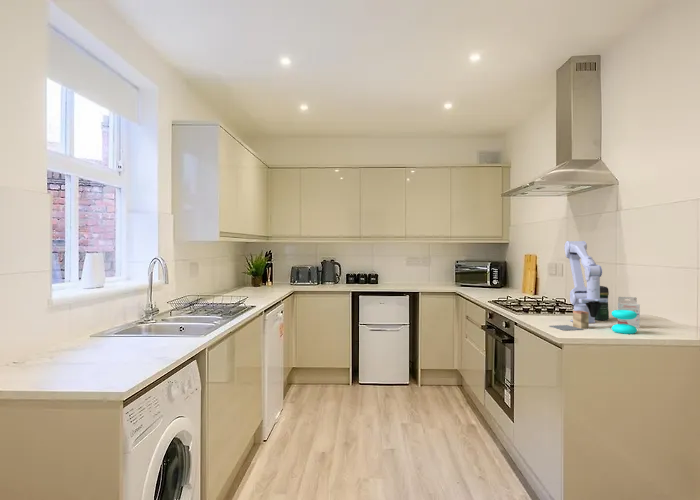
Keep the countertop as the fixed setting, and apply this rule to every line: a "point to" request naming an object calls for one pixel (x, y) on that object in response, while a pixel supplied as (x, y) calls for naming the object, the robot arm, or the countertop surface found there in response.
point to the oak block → (581, 319)
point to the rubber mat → (566, 327)
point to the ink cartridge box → (629, 306)
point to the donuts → (624, 327)
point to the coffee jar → (603, 305)
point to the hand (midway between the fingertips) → (593, 317)
